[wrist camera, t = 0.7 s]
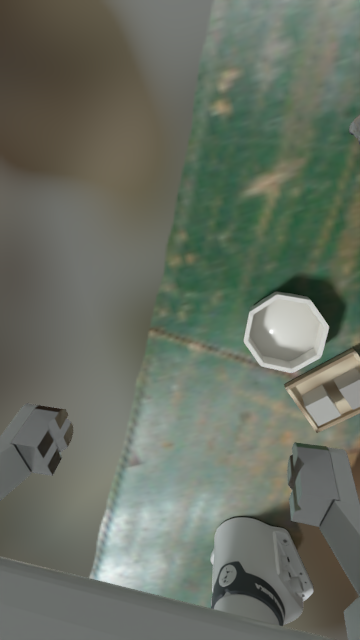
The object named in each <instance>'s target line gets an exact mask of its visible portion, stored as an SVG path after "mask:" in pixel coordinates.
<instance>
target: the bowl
mask: <svg viewBox="0 0 360 640" xmlns="http://www.w3.org/2000/svg"><path fill="white" fill-rule="evenodd" d="M328 331H329V326H328V324H327V323H326V321H325V320H324V318H323V317H322V315H321V314H320V313H319V311H318V310H317V308H316V307H315V305H314V304H313V302H312V301H311V300H310V299H309V298H308V297H306V296H300V295H296V294H292V293H283V292H277V291H276V292H274V293H273V294H271V295H269V296H268V297H266V298H264V299H262V300H261V301H260V302H258V303H257V304H256V305H254V306H253V307H251V308H250V311H249V316H248V321H247V326H246V331H245V336H244V343H245V344H246V346H247V347H248V349H249V350H250V351H251V353H252V354H253V356H254V357H255V358H256V360H257V361H258V363H259V364H260V366H262V367H267V368H271V369H276V370H280V371H285V372H290V373H292V372H293V373H294V372H295V371H297V370H299V369H301V368H303V367H305V366H306V365H308V364H310V363H312V362H314V361H316V360H317V359H319V358H321V356H322V353H323V349H324V345H325V342H326V338H327V334H328Z"/></svg>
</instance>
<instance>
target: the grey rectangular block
mask: <svg viewBox="0 0 360 640" xmlns="http://www.w3.org/2000/svg"><path fill="white" fill-rule="evenodd" d="M333 380H334V382H335V384H336V385H337V387H338V389H339V391H340V392H341V393H342V395H343V396H344V398H345V399H346V401H347V402H348V403H349V405H350V406H351V408H352V409H353V410H354V409H356V408H358V407H360V373H359V372H358V371H357V369H356V368H353V369H351V370H349V371H348V372H346V373H344V374H342V375H340V376H338V377H336V378H334V379H333Z"/></svg>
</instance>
